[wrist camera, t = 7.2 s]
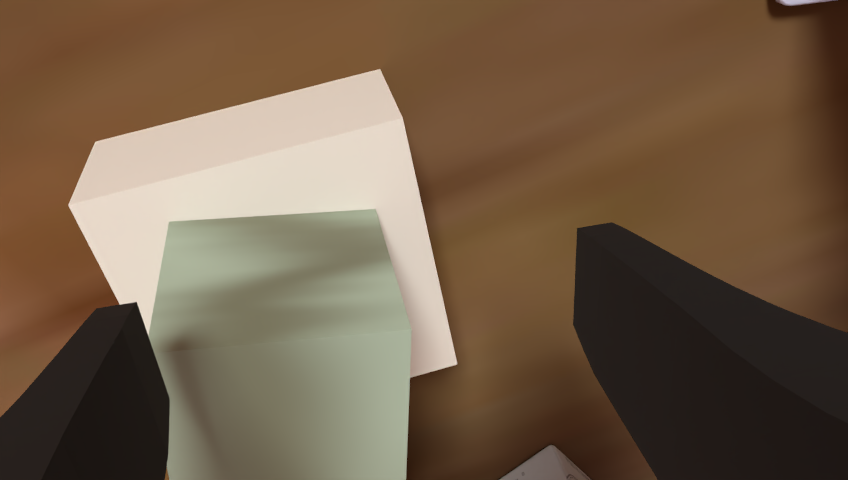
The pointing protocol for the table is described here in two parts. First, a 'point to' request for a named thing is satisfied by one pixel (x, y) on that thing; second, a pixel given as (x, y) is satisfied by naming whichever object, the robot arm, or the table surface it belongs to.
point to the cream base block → (266, 189)
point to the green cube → (283, 349)
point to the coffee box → (547, 467)
